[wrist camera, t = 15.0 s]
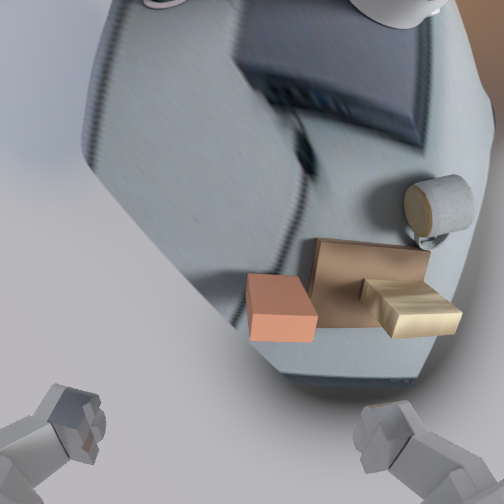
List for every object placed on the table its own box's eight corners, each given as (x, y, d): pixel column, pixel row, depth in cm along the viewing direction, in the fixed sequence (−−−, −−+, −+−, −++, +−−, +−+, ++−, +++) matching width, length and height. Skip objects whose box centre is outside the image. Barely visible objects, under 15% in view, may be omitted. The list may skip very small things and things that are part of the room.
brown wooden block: (316, 237, 39) (349, 272, 28) (423, 247, 41) (473, 278, 29) (302, 320, 43) (324, 373, 31) (403, 320, 44) (442, 363, 33)
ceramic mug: (396, 181, 38) (428, 190, 30) (441, 170, 37) (475, 178, 30) (405, 253, 41) (433, 273, 34) (447, 239, 41) (477, 255, 34)
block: (247, 273, 38) (253, 313, 28) (298, 276, 38) (318, 316, 29) (245, 295, 39) (250, 340, 29) (294, 298, 39) (312, 342, 30)
